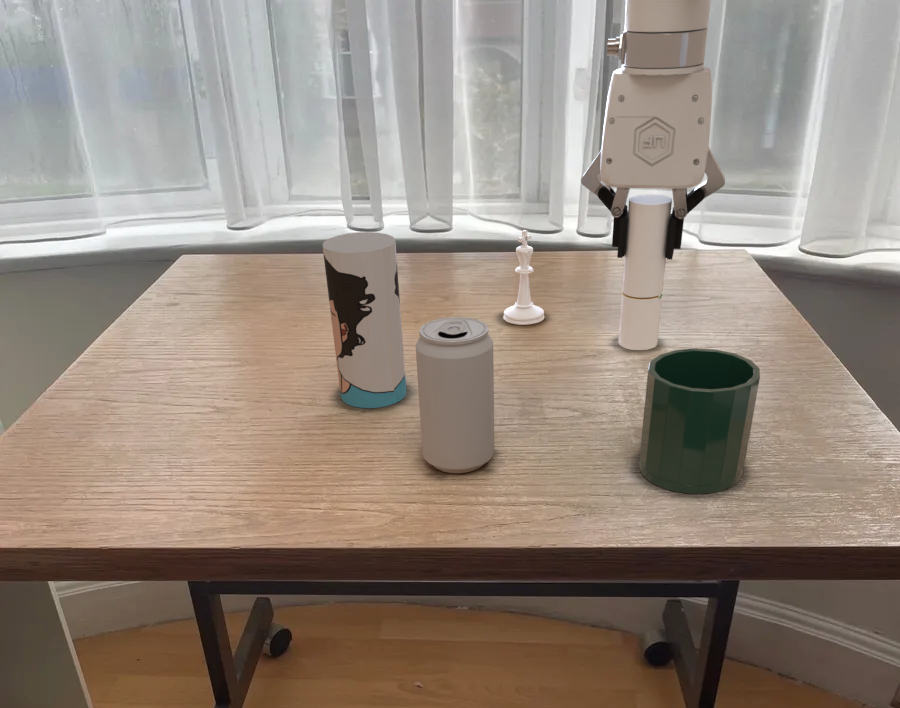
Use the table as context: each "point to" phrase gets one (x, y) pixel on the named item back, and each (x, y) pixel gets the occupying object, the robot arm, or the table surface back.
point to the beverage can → (456, 393)
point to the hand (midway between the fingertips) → (645, 253)
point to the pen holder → (697, 419)
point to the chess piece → (524, 289)
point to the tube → (644, 271)
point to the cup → (366, 318)
